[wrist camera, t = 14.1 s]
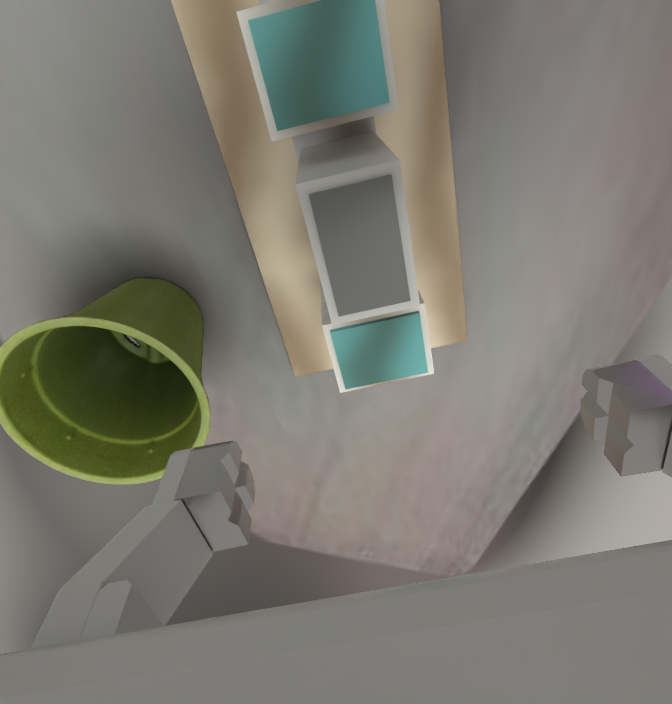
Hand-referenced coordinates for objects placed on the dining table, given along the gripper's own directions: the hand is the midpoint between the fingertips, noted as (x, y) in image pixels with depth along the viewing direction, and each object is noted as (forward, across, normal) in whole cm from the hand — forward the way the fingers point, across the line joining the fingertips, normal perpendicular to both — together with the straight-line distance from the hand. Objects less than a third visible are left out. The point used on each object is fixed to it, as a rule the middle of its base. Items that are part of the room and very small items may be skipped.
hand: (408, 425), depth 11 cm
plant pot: (+24, +16, +6) cm, 30 cm away
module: (+22, 0, 0) cm, 22 cm away
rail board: (+24, 0, 0) cm, 24 cm away
